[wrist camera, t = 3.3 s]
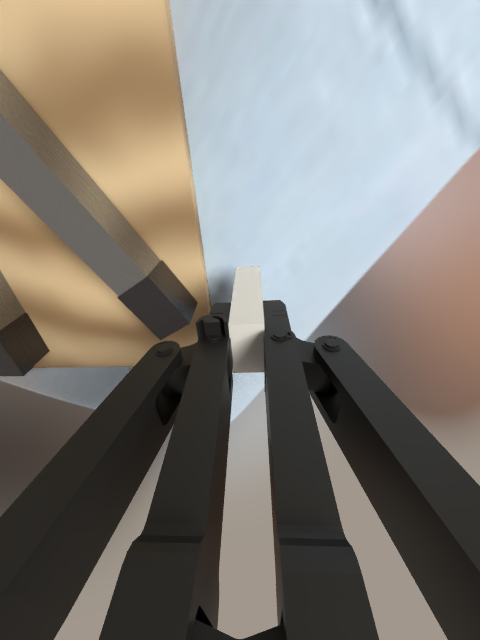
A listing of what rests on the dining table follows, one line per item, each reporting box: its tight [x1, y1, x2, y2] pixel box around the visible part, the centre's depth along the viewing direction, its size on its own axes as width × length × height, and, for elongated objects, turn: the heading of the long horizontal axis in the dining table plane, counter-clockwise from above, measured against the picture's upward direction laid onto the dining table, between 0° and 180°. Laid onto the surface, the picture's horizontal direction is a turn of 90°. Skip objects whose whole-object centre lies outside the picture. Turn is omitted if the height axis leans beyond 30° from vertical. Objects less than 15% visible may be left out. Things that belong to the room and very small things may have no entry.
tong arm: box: [0, 69, 198, 340], centre depth 14 cm, size 18×3×3 cm, turn 33°
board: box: [0, 0, 211, 368], centre depth 17 cm, size 25×20×1 cm
